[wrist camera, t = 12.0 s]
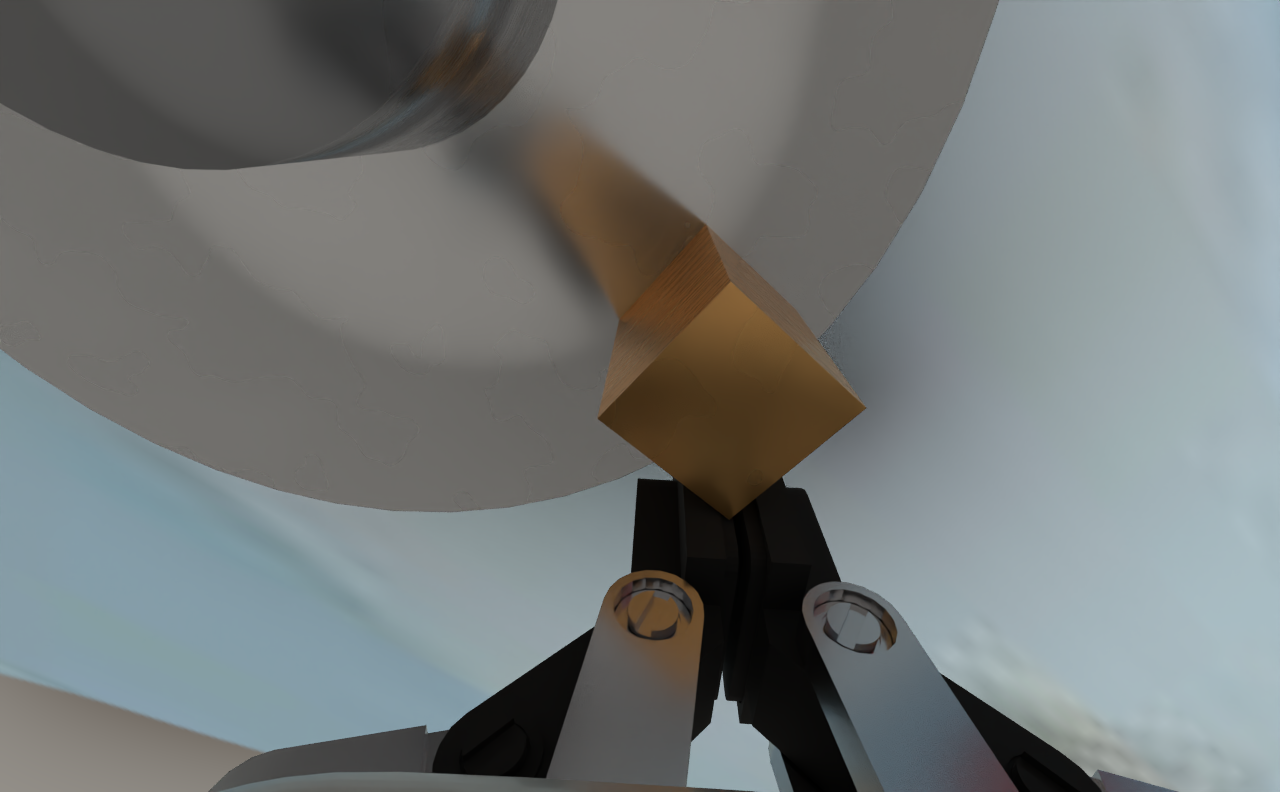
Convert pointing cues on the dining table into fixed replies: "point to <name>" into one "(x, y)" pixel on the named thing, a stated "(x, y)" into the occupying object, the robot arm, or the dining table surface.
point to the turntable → (509, 264)
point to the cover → (263, 74)
